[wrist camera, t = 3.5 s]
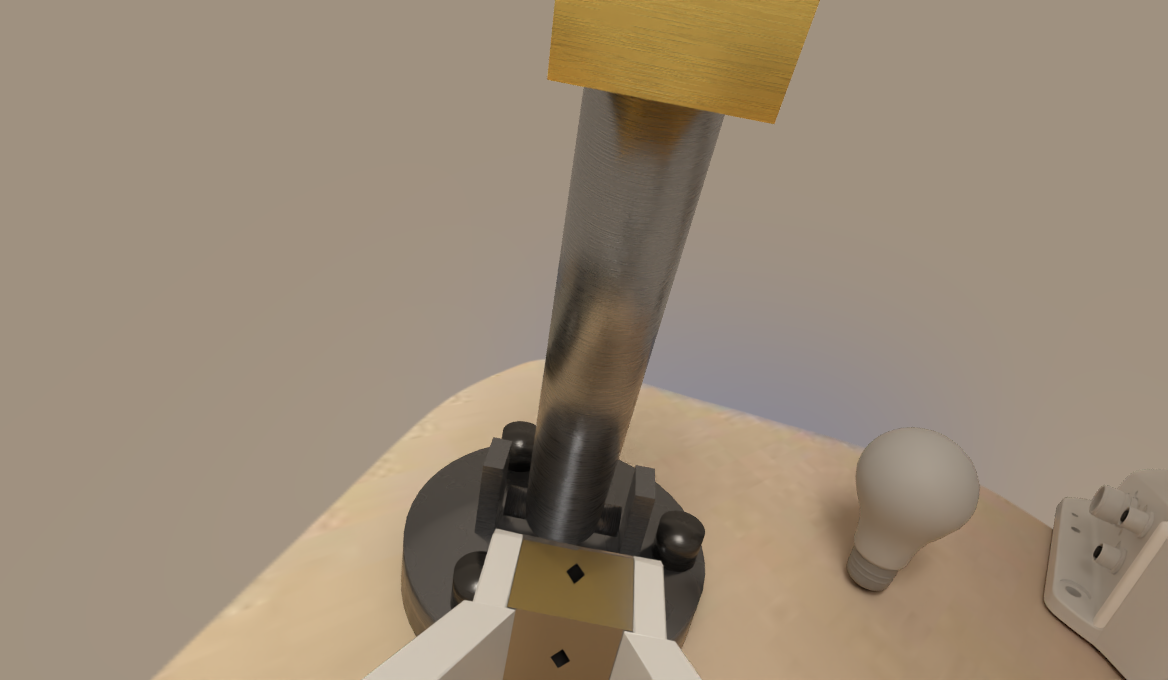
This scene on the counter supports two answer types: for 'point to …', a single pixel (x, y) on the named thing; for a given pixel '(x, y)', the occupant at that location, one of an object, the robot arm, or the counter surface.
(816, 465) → the counter surface
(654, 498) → the tribrach base
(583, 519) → the instrument mast
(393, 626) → the counter surface
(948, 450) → the lightbulb
